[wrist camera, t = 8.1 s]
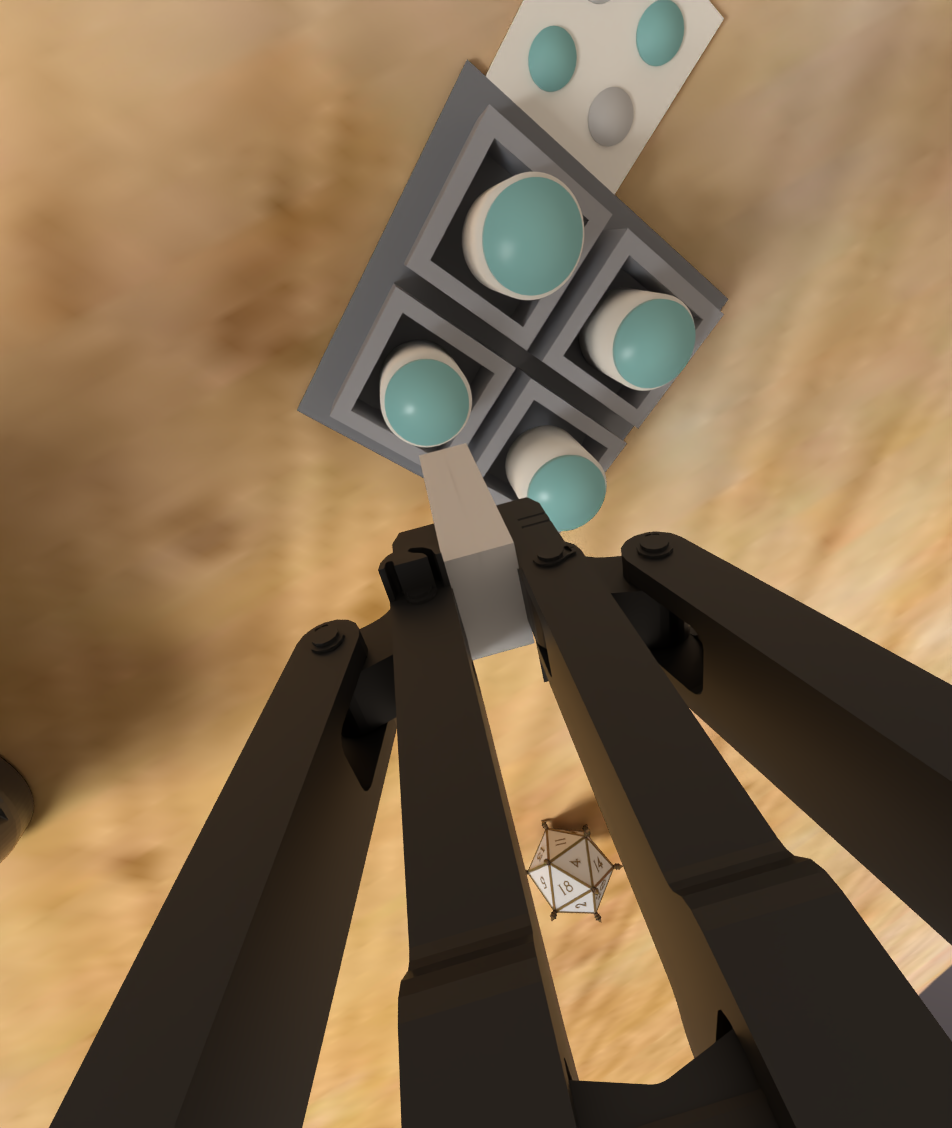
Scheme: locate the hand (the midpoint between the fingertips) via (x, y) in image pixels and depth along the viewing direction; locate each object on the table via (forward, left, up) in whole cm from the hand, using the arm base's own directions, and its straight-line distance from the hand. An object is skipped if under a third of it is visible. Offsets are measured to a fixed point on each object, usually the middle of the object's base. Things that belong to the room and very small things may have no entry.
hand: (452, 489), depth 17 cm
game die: (+35, -32, -17) cm, 50 cm away
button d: (0, 0, -15) cm, 15 cm away
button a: (+8, +8, -15) cm, 19 cm away
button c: (0, +8, -13) cm, 15 cm away
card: (0, +17, -16) cm, 24 cm away
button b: (+8, 0, -13) cm, 15 cm away
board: (+4, +4, -16) cm, 17 cm away
